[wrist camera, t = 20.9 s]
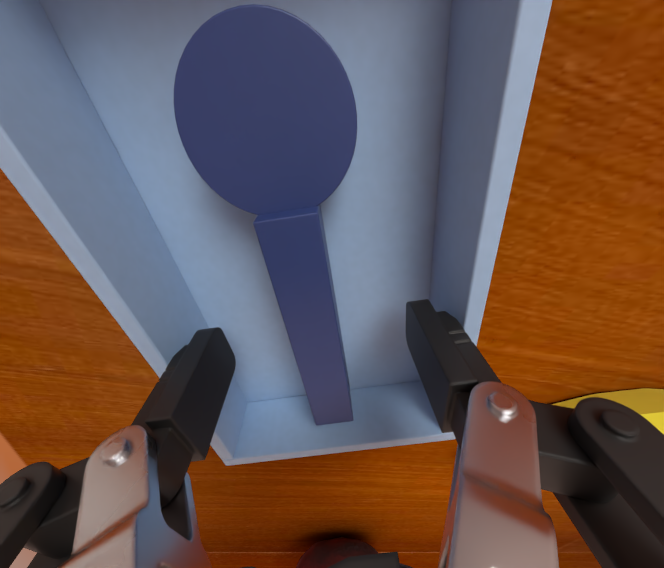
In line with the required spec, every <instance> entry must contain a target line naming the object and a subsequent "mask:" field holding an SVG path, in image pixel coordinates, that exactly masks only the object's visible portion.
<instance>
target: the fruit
mask: <svg viewBox="0 0 664 568" xmlns="http://www.w3.org/2000/svg"><path fill="white" fill-rule="evenodd" d="M370 554H378V552H377V551H376V550H375V549H374V548H373V547H372V546H370V545H369V544H367V543H365V542H363V541H361V540H357V539H345V537H339V538H336V539H330V540H323V541H319V542H317V543H315V544H314V545H312V546H311V547H310V548H309V549H308V550H307V551H306V552H305V553H304V554H303V555H302V557H301V558H300V560H299V562H298V564H297V567H296V568H327V567H329V566H331V565H333V564H335V563H337V562H339V561H341V560H343V559H345V558H347V557H350V556H360V555H370Z"/></svg>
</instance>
